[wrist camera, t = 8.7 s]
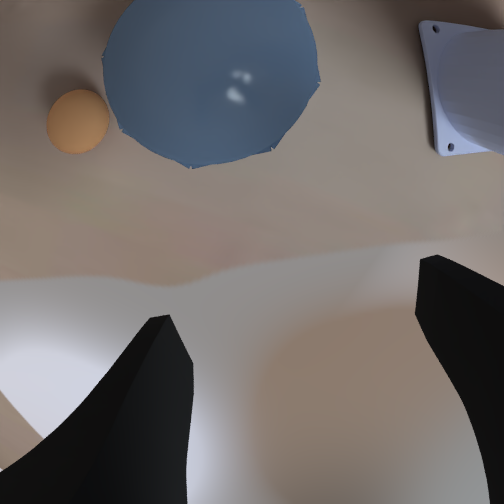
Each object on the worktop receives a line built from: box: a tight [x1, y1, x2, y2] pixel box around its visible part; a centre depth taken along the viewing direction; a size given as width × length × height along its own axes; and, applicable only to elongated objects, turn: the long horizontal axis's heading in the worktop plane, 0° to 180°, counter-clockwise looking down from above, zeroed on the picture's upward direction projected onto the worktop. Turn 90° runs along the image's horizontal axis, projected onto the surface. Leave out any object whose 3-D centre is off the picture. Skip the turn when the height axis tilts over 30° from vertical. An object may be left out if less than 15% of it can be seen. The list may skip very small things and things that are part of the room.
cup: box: [101, 0, 321, 169], centre depth 10 cm, size 6×6×7 cm
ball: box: [47, 89, 109, 154], centre depth 13 cm, size 3×3×3 cm
